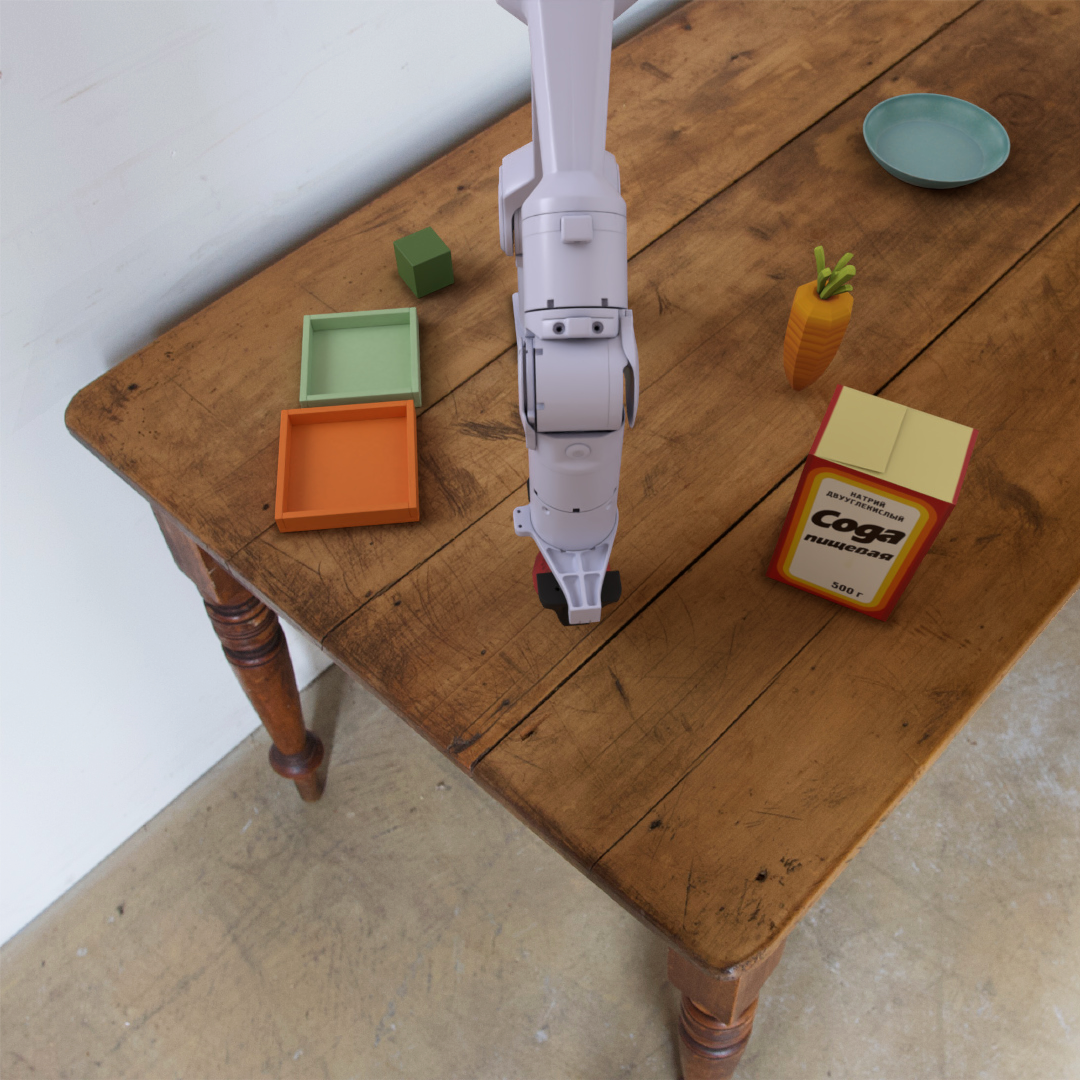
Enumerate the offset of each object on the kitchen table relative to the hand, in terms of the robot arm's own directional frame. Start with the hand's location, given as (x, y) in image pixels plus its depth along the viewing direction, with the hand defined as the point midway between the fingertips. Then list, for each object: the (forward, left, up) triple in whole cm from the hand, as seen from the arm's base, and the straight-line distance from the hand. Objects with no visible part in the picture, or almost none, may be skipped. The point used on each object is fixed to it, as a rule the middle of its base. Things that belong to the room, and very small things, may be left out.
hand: (571, 582), depth 74 cm
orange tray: (+17, -14, -2) cm, 22 cm away
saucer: (-43, -49, -3) cm, 65 cm away
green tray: (+16, -25, -2) cm, 30 cm away
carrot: (-22, -19, -3) cm, 29 cm away
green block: (+10, -36, -2) cm, 38 cm away
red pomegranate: (0, 0, -3) cm, 3 cm away
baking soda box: (-21, -1, -3) cm, 21 cm away
